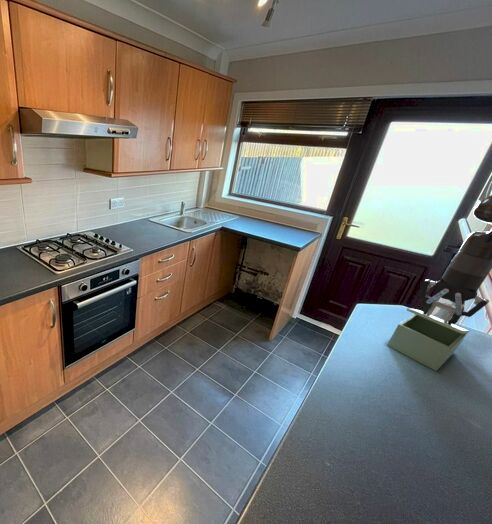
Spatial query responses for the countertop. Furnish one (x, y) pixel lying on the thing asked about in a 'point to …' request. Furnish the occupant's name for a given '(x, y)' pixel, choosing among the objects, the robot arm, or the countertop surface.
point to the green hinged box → (425, 341)
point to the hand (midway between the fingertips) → (437, 318)
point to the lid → (438, 320)
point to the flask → (442, 313)
